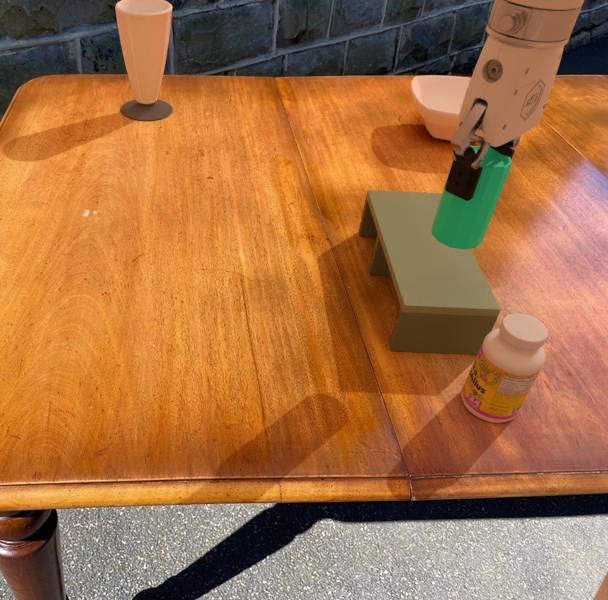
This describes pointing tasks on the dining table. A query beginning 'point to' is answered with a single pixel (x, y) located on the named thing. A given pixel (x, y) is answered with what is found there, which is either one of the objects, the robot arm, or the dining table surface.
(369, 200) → the shelf
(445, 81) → the bowl
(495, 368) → the supplement bottle
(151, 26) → the cup
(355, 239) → the dining table surface
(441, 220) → the candle
